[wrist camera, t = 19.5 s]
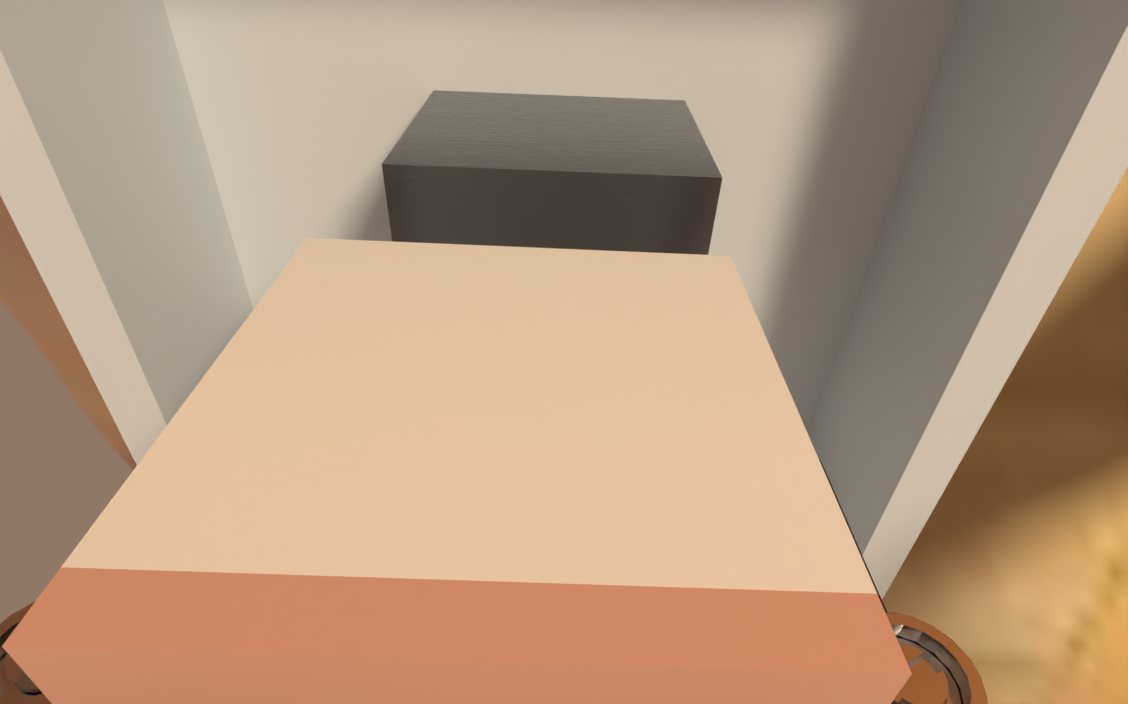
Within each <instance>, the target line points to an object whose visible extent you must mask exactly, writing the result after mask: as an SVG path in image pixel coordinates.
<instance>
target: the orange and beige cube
mask: <svg viewBox="0 0 1128 704" xmlns="http://www.w3.org/2000/svg"><path fill="white" fill-rule="evenodd" d="M2 647H3V648H4V649H5V650H6V652H7V653H8V654H9V655H10V656H11V657H12V658H13V660H14V661H15V662H16V663H17V664H18V665H19V666H20V668H21V669H22V670H23V671H24V672H25V673H26V674H27V676H28V677H29V678H30V679H31V680H32V681H33V682H34V684H35V685H36V686H37V687H38V688H39V689H40V691H41V692H42V693H43V694H44V695H45V696H46V697H47V699H48V700H49V701H50V702H51V703H52V704H891V703H892V701H893V700H894V699H895V697H896V696H897V694H898V693H899V691H900V690H901V689H902V687H903V686H904V684H905V683H906V681H907V680H908V679H909V677H910V676H911V674H912V673H911V670H910V668H909V666H908V663H907V661H906V659H905V656H904V654H903V652H902V650H901V647H900V645H899V643H898V640H897V638H896V636H895V633H894V631H893V629H892V627H891V624H890V622H889V620H888V617H887V615H886V613H885V610H884V608H883V606H882V604H881V601H880V599H879V597H878V594H877V592H876V590H875V587H874V585H873V583H872V580H871V578H870V576H869V574H868V571H867V569H866V567H865V564H864V562H863V560H862V557H861V555H860V553H859V551H858V548H857V546H856V544H855V541H854V539H853V537H852V534H851V532H850V530H849V527H848V525H847V523H846V521H845V518H844V516H843V514H842V511H841V509H840V507H839V504H838V502H837V500H836V498H835V495H834V493H833V491H832V488H831V486H830V484H829V481H828V479H827V477H826V474H825V472H824V470H823V468H822V465H821V463H820V461H819V458H818V456H817V454H816V451H815V449H814V447H813V445H812V442H811V440H810V438H809V435H808V433H807V431H806V428H805V426H804V424H803V421H802V419H801V417H800V415H799V412H798V410H797V408H796V405H795V403H794V401H793V398H792V396H791V394H790V392H789V389H788V387H787V385H786V382H785V380H784V378H783V375H782V373H781V371H780V369H779V366H778V364H777V362H776V359H775V357H774V355H773V352H772V350H771V348H770V345H769V343H768V341H767V339H766V336H765V334H764V332H763V329H762V327H761V325H760V322H759V320H758V318H757V316H756V313H755V311H754V309H753V306H752V304H751V302H750V299H749V297H748V295H747V292H746V290H745V288H744V286H743V283H742V281H741V279H740V276H739V274H738V272H737V269H736V267H735V265H734V263H733V260H732V258H731V256H722V255H698V254H675V253H651V252H627V251H604V250H580V249H557V248H533V247H510V246H486V245H462V244H439V243H415V242H392V241H368V240H344V239H321V238H307V239H306V240H305V241H304V243H303V244H302V245H301V247H300V248H299V249H298V251H297V252H296V253H295V255H294V256H293V257H292V259H291V260H290V261H289V263H288V264H287V265H286V267H285V268H284V269H283V271H282V272H281V273H280V275H279V276H278V277H277V279H276V280H275V281H274V283H273V284H272V285H271V287H270V288H269V289H268V291H267V292H266V294H265V295H264V296H263V298H262V299H261V300H260V302H259V303H258V304H257V306H256V307H255V308H254V310H253V311H252V312H251V314H250V315H249V316H248V318H247V319H246V320H245V322H244V323H243V324H242V326H241V327H240V328H239V330H238V331H237V332H236V334H235V335H234V336H233V338H232V339H231V340H230V342H229V343H228V344H227V346H226V347H225V348H224V350H223V351H222V352H221V354H220V355H219V356H218V358H217V359H216V360H215V362H214V363H213V364H212V366H211V367H210V368H209V370H208V371H207V373H206V374H205V375H204V377H203V378H202V379H201V381H200V382H199V383H198V385H197V386H196V387H195V389H194V390H193V391H192V393H191V394H190V395H189V397H188V398H187V399H186V401H185V402H184V403H183V405H182V406H181V407H180V409H179V410H178V411H177V413H176V414H175V415H174V417H173V418H172V419H171V421H170V422H169V423H168V425H167V426H166V427H165V429H164V430H163V431H162V433H161V434H160V435H159V437H158V438H157V439H156V441H155V442H154V443H153V445H152V446H151V447H150V449H149V450H148V452H147V453H146V454H145V456H144V457H143V458H142V460H141V461H140V462H139V464H138V465H137V466H136V468H135V469H134V470H133V472H132V473H131V474H130V476H129V477H128V478H127V480H126V481H125V482H124V484H123V485H122V486H121V488H120V489H119V490H118V492H117V493H116V494H115V496H114V497H113V499H112V500H111V501H110V502H109V504H108V505H107V506H106V508H105V509H104V510H103V512H102V513H101V514H100V516H99V517H98V519H97V520H96V521H95V522H94V524H93V525H92V526H91V528H90V529H89V531H88V532H87V533H86V535H85V536H84V537H83V539H82V540H81V541H80V543H79V544H78V545H77V547H76V548H75V549H74V551H73V552H72V553H71V555H70V556H69V557H68V559H67V560H66V561H65V563H64V564H63V565H62V567H61V568H60V569H59V571H58V572H57V574H56V575H55V576H54V577H53V579H52V580H51V582H50V583H49V584H48V585H47V587H46V588H45V589H44V591H43V592H42V593H41V595H40V596H39V597H38V599H37V600H36V601H35V603H34V604H33V605H32V607H31V608H30V609H29V611H28V612H27V614H26V615H25V616H24V618H23V619H22V620H21V622H20V623H19V624H18V626H17V627H16V628H15V630H14V631H13V632H12V634H11V635H10V636H9V638H8V639H7V640H6V642H5V643H4V644H3V646H2Z"/></svg>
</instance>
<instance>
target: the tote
mask: <svg viewBox="0 0 1128 704" xmlns="http://www.w3.org/2000/svg"><path fill="white" fill-rule="evenodd" d="M434 90H440V91H465V92H489V93H514V94H538V95H563V96H588V97H612V98H637V99H661V100H685V102H686V104H687V106H688V108H689V110H690V112H691V114H692V116H693V118H694V120H695V122H696V124H697V126H698V129H699V131H700V133H701V135H702V137H703V139H704V141H705V143H706V145H707V147H708V149H709V151H710V153H711V155H712V157H713V159H714V161H715V163H716V165H717V167H718V170H719V172H720V174H721V176H722V183H721V188H720V194H719V199H718V205H717V210H716V215H715V221H714V226H713V232H712V237H711V242H710V248H709V253H708V255H722V256H731V258H732V260H733V263H734V265H735V267H736V269H737V272H738V274H739V276H740V279H741V281H742V283H743V286H744V288H745V290H746V292H747V295H748V297H749V299H750V302H751V304H752V306H753V309H754V311H755V313H756V316H757V318H758V320H759V322H760V325H761V327H762V329H763V332H764V334H765V336H766V339H767V341H768V343H769V345H770V348H771V350H772V352H773V355H774V357H775V359H776V362H777V364H778V366H779V369H780V371H781V373H782V375H783V378H784V380H785V382H786V385H787V387H788V389H789V392H790V394H791V396H792V398H793V401H794V403H795V405H796V408H797V410H798V412H799V415H800V417H801V419H802V421H803V424H804V426H805V428H806V431H807V433H808V435H809V438H810V440H811V442H812V445H813V447H814V449H815V451H816V454H817V456H818V457H819V459H820V461H821V462H822V464H823V466H824V469H825V471H826V473H827V476H828V478H829V480H830V482H831V485H832V487H833V489H834V492H835V494H836V496H837V498H838V501H839V503H840V505H841V508H842V510H843V512H844V514H845V517H846V519H847V521H848V524H849V526H850V528H851V531H852V533H853V535H854V537H855V540H856V542H857V544H858V547H859V549H860V551H861V553H862V556H863V558H864V560H865V563H866V565H867V567H868V570H869V572H870V574H871V576H872V579H873V581H874V583H875V586H876V588H877V590H878V592H879V595H880V597H881V599H883V598H884V596H885V594H886V592H887V591H888V589H889V587H890V585H891V584H892V582H893V580H894V578H895V576H896V575H897V573H898V571H899V569H900V568H901V566H902V564H903V562H904V561H905V559H906V557H907V555H908V554H909V552H910V550H911V548H912V546H913V545H914V543H915V541H916V539H917V538H918V536H919V534H920V532H921V531H922V529H923V527H924V525H925V524H926V522H927V520H928V518H929V516H930V515H931V513H932V511H933V509H934V508H935V506H936V504H937V502H938V501H939V499H940V497H941V495H942V494H943V492H944V490H945V488H946V486H947V485H948V483H949V481H950V479H951V478H952V476H953V474H954V472H955V471H956V469H957V467H958V465H959V464H960V462H961V460H962V458H963V456H964V455H965V453H966V451H967V449H968V448H969V446H970V444H971V442H972V441H973V439H974V437H975V435H976V434H977V432H978V430H979V428H980V427H981V425H982V423H983V421H984V419H985V418H986V416H987V414H988V412H989V411H990V409H991V407H992V405H993V404H994V402H995V400H996V398H997V397H998V395H999V393H1000V391H1001V389H1002V388H1003V386H1004V384H1005V382H1006V381H1007V379H1008V377H1009V375H1010V374H1011V372H1012V370H1013V368H1014V367H1015V365H1016V363H1017V361H1018V359H1019V358H1020V356H1021V354H1022V352H1023V351H1024V349H1025V347H1026V345H1027V344H1028V342H1029V340H1030V338H1031V337H1032V335H1033V333H1034V331H1035V329H1036V328H1037V326H1038V324H1039V322H1040V321H1041V319H1042V317H1043V315H1044V314H1045V312H1046V310H1047V308H1048V307H1049V305H1050V303H1051V301H1052V299H1053V298H1054V296H1055V294H1056V292H1057V291H1058V289H1059V287H1060V285H1061V284H1062V282H1063V280H1064V278H1065V277H1066V275H1067V273H1068V271H1069V269H1070V268H1071V266H1072V264H1073V262H1074V261H1075V259H1076V257H1077V255H1078V254H1079V252H1080V250H1081V248H1082V247H1083V245H1084V243H1085V241H1086V240H1087V238H1088V236H1089V234H1090V232H1091V231H1092V229H1093V227H1094V225H1095V224H1096V222H1097V220H1098V218H1099V217H1100V215H1101V213H1102V211H1103V210H1104V208H1105V206H1106V204H1107V202H1108V201H1109V199H1110V197H1111V195H1112V194H1113V192H1114V190H1115V188H1116V187H1117V185H1118V183H1119V181H1120V180H1121V178H1122V176H1123V174H1124V172H1125V171H1126V169H1127V167H1128V0H0V195H1V197H2V199H3V201H4V203H5V205H6V207H7V209H8V211H9V213H10V215H11V217H12V219H13V221H14V223H15V225H16V227H17V229H18V231H19V233H20V235H21V237H22V239H23V241H24V243H25V245H26V247H27V249H28V251H29V253H30V255H31V257H32V259H33V261H34V263H35V265H36V267H37V269H38V271H39V273H40V275H41V277H42V279H43V281H44V283H45V285H46V287H47V288H48V290H49V292H50V294H51V296H52V298H53V300H54V302H55V304H56V306H57V308H58V310H59V312H60V314H61V316H62V318H63V320H64V322H65V324H66V326H67V328H68V330H69V332H70V334H71V336H72V338H73V340H74V342H75V344H76V346H77V348H78V350H79V352H80V354H81V356H82V358H83V360H84V362H85V364H86V366H87V368H88V370H89V372H90V374H91V376H92V378H93V380H94V382H95V384H96V385H97V387H98V389H99V391H100V393H101V395H102V397H103V399H104V401H105V403H106V405H107V407H108V409H109V411H110V413H111V415H112V417H113V419H114V421H115V423H116V425H117V427H118V429H119V431H120V433H121V435H122V437H123V439H124V441H125V443H126V445H127V447H128V449H129V451H130V453H131V455H132V457H133V459H134V461H135V463H136V465H138V464H139V462H140V461H141V460H142V458H143V457H144V456H145V454H146V453H147V452H148V450H149V449H150V447H151V446H152V445H153V443H154V442H155V441H156V439H157V438H158V437H159V435H160V434H161V433H162V431H163V430H164V429H165V427H166V426H167V425H168V423H169V422H170V421H171V419H172V418H173V417H174V415H175V414H176V413H177V411H178V410H179V409H180V407H181V406H182V405H183V403H184V402H185V401H186V399H187V398H188V397H189V395H190V394H191V393H192V391H193V390H194V389H195V387H196V386H197V385H198V383H199V382H200V381H201V379H202V378H203V377H204V375H205V374H206V373H207V371H208V370H209V368H210V367H211V366H212V364H213V363H214V362H215V360H216V359H217V358H218V356H219V355H220V354H221V352H222V351H223V350H224V348H225V347H226V346H227V344H228V343H229V342H230V340H231V339H232V338H233V336H234V335H235V334H236V332H237V331H238V330H239V328H240V327H241V326H242V324H243V323H244V322H245V320H246V319H247V318H248V316H249V315H250V314H251V312H252V311H253V310H254V308H255V307H256V306H257V304H258V303H259V302H260V300H261V299H262V298H263V296H264V295H265V294H266V292H267V291H268V289H269V288H270V287H271V285H272V284H273V283H274V281H275V280H276V279H277V277H278V276H279V275H280V273H281V272H282V271H283V269H284V268H285V267H286V265H287V264H288V263H289V261H290V260H291V259H292V257H293V256H294V255H295V253H296V252H297V251H298V249H299V248H300V247H301V245H302V244H303V243H304V241H305V240H306V239H307V238H321V239H344V240H368V241H392V236H391V229H390V222H389V214H388V207H387V200H386V192H385V185H384V178H383V170H382V163H383V161H384V160H385V159H386V157H387V156H388V154H389V153H390V152H391V150H392V149H393V147H394V146H395V144H396V143H397V142H398V140H399V139H400V137H401V136H402V135H403V133H404V132H405V130H406V129H407V127H408V126H409V125H410V123H411V122H412V120H413V119H414V118H415V116H416V115H417V113H418V112H419V110H420V109H421V108H422V106H423V105H424V103H425V102H426V101H427V99H428V98H429V96H430V95H431V94H432V92H433V91H434Z"/></svg>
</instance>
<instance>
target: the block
mask: <svg viewBox="0 0 1128 704" xmlns="http://www.w3.org/2000/svg"><path fill="white" fill-rule="evenodd" d="M382 170H383V178H384V185H385V192H386V200H387V207H388V214H389V222H390V229H391V236H392V242H415V243H439V244H462V245H486V246H510V247H533V248H557V249H580V250H604V251H627V252H651V253H675V254H698V255H708V253H709V248H710V242H711V237H712V232H713V226H714V221H715V215H716V210H717V205H718V199H719V194H720V188H721V183H722V176H721V174H720V172H719V170H718V167H717V165H716V163H715V161H714V159H713V157H712V155H711V153H710V151H709V149H708V147H707V145H706V143H705V141H704V139H703V137H702V135H701V133H700V131H699V129H698V126H697V124H696V122H695V120H694V118H693V116H692V114H691V112H690V110H689V108H688V106H687V104H686V102H685V100H661V99H637V98H612V97H588V96H563V95H538V94H514V93H489V92H465V91H440V90H434V91H433V92H432V94H431V95H430V96H429V98H428V99H427V101H426V102H425V103H424V105H423V106H422V108H421V109H420V110H419V112H418V113H417V115H416V116H415V118H414V119H413V120H412V122H411V123H410V125H409V126H408V127H407V129H406V130H405V132H404V133H403V135H402V136H401V137H400V139H399V140H398V142H397V143H396V144H395V146H394V147H393V149H392V150H391V152H390V153H389V154H388V156H387V157H386V159H385V160H384V161H383V163H382Z"/></svg>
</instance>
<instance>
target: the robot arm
mask: <svg viewBox="0 0 1128 704" xmlns="http://www.w3.org/2000/svg"><path fill="white" fill-rule="evenodd" d="M818 458H819V457H818ZM819 461H820V459H819ZM820 463H821V465H822V468H823V470H824V472H825V474H826V477H827V479H828V481H829V484H830V486H831V488H832V491H833V493H834V495H835V498H836V500H837V502H838V504H839V507H840V509H841V511H842V514H843V516H844V518H845V521H846V523H847V525H848V527H849V530H850V532H851V534H852V537H853V539H854V541H855V544H856V546H857V548H858V551H859V553H860V555H861V557H862V560H863V562H864V564H865V567H866V569H867V571H868V574H869V576H870V578H871V580H872V583H873V585H874V587H875V590H876V592H877V594H878V597H879V599H880V601H881V604H882V606H883V608H884V610H885V613H886V615H887V617H888V620H889V622H890V624H891V627H892V629H893V631H894V633H895V636H896V638H897V640H898V643H899V645H900V647H901V650H902V652H903V654H904V656H905V659H906V661H907V663H908V666H909V668H910V670H911V673H912V674H911V676H910V677H909V679H908V680H907V681H906V683H905V684H904V686H903V687H902V689H901V690H900V691H899V693H898V694H897V696H896V697H895V699H894V700H893V701H892V703H891V704H988V702H987V696H986V693H985V689H984V686H983V683H982V679H981V676H980V675H979V673H978V672H977V670H976V668H975V667H974V665H973V663H972V662H971V660H970V659H969V657H968V656H967V655H966V654H965V653H964V652H963V651H962V650H961V649H960V648H959V647H958V645H957V644H956V643H955V642H954V641H953V640H952V639H950V638H949V637H947V636H946V635H945V634H943V633H942V632H940V631H939V630H938V629H936V628H935V627H934V626H932V625H929V624H927V623H925V622H923V621H921V620H918V619H916V618H914V617H911V616H906V615H901V614H897V613H887V611H886V608H885V606H884V604H883V602H882V599H881V597H880V595H879V592H878V590H877V588H876V586H875V583H874V581H873V579H872V576H871V574H870V572H869V570H868V567H867V565H866V563H865V560H864V558H863V556H862V553H861V551H860V549H859V547H858V544H857V542H856V540H855V537H854V535H853V533H852V531H851V528H850V526H849V524H848V521H847V519H846V517H845V514H844V512H843V510H842V508H841V505H840V503H839V501H838V498H837V496H836V494H835V492H834V489H833V487H832V485H831V482H830V480H829V478H828V476H827V473H826V471H825V469H824V466H823V464H822V462H821V461H820ZM34 603H35V602H33V603H32V604H30V605H28V606H26V607H24V608H22V609H21V610H19V611H17V612H15V613H14V614H12V615H11V616H9V617H8V618H7V619H5V620H4V621H3V622H2V623H1V624H0V704H52V703H51V702H50V701H49V700H48V699H47V697H46V696H45V695H44V694H43V693H42V692H41V691H40V689H39V688H38V687H37V686H36V685H35V684H34V682H33V681H32V680H31V679H30V678H29V677H28V676H27V674H26V673H25V672H24V671H23V670H22V669H21V668H20V666H19V665H18V664H17V663H16V662H15V661H14V660H13V658H12V657H11V656H10V655H9V654H8V653H7V652H6V650H5V649H4V648H3V647H2V646H3V644H4V643H5V642H6V640H7V639H8V638H9V636H10V635H11V634H12V632H13V631H14V630H15V628H16V627H17V626H18V624H19V623H20V622H21V620H22V619H23V618H24V616H25V615H26V614H27V612H28V611H29V609H30V608H31V607H32V605H33V604H34Z"/></svg>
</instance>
